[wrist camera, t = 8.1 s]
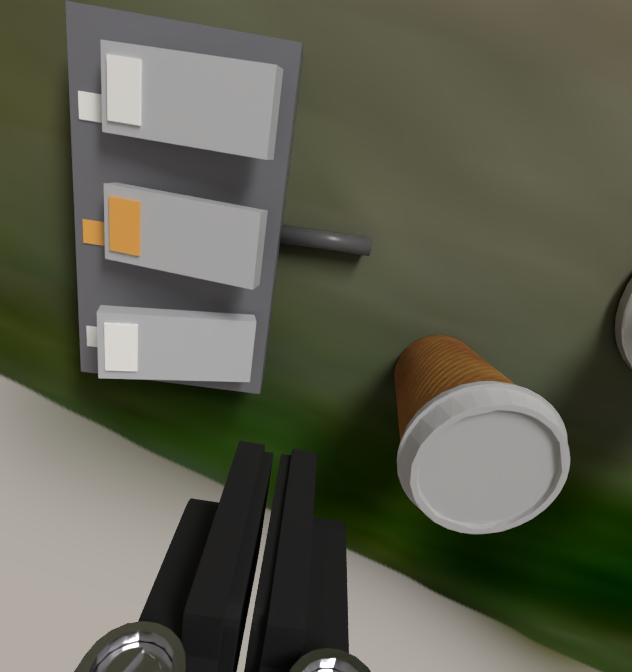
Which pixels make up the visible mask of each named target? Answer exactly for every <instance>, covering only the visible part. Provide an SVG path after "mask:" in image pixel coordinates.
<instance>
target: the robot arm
mask: <svg viewBox="0 0 632 672" xmlns="http://www.w3.org/2000/svg"><path fill="white" fill-rule="evenodd" d="M615 336H616V343H617V347H618V349H619V351H620V354H621V356H622V358H623V359H624V361H625V362H626V363H627V364H628V366H629V367H630V368H631V369H632V278H631V280H630V281H629V283H628V284H627V286H626V288H625V290H624V293H623V295H622V297H621V299H620V302H619V305H618V309H617V313H616V318H615ZM264 450H265V444H258V443H252V442H245V441H240V442H239V444H238V447H237V450H236V453H235V456H234V459H233V462H232V465H231V468H230V472H229V475H228V478H227V481H226V484H225V487H224V490H223V493H222V496H221V499H220V502H219V503H217V502H211V501H204V500H198V499H190V500H189V501H188V504H187V506H186V508H185V510H184V513H183V515H182V517H181V520H180V522H179V525H178V527H177V529H176V532H175V534H174V537H173V539H172V541H171V544H170V546H169V549H168V551H167V553H166V556H165V558H164V561H163V563H162V565H161V568H160V570H159V573H158V575H157V578H156V580H155V582H154V585H153V587H152V590H151V592H150V594H149V597H148V599H147V602H146V604H145V606H144V609H143V611H142V614H141V616H140V618H139V621H138V622H134V623H127V624H125V625H123V626H120V627H118V628H116V629H113V630H111V631H110V632H108V633H107V634H106V635H104V636H103V637H102V638H100V639H99V640H98V641H97V642H96V643H95V644H94V645H93V646H92V648H91V649H90V650H89V651H88V652H87V653H86V655H85V656H84V657H83V659H82V661H81V663H80V664H79V665H78V667H77V668H76V670H75V671H74V672H236V671H237V666H238V661H239V656H240V650H241V645H242V640H243V634H244V629H245V624H246V617H247V613H248V608H249V603H250V597H251V592H252V586H253V581H254V576H255V571H256V565H257V560H258V554H259V548H260V541H261V535H262V528H263V521H264V515H265V514H264V513H265V508H266V501H267V494H268V488H269V481H270V474H271V467H272V461H273V453H271V452H265V451H264ZM316 464H317V453H316V452H310V451H303V450H297V449H292V454H291V455H284V454H281V459H280V465H279V471H278V476H277V482H276V488H275V493H274V499H273V505H272V510H271V516H270V522H269V528H268V533H267V539H266V545H265V550H264V556H263V562H262V567H261V573H260V578H259V584H258V590H257V595H256V601H255V607H254V613H253V619H252V625H251V631H250V637H249V644H248V651H247V657H246V664H245V670H244V672H370V670H369V668H368V667H367V666H366V665H365V664H363V663H362V662H361V661H360V660H359V659H358V658H357V657H355V656H353V655H351V654H349V643H348V605H347V604H348V602H347V565H346V564H347V563H346V528H345V522H343V521H336V520H330V519H323V518H317V517H313V514H314V497H315V481H316Z"/></svg>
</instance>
